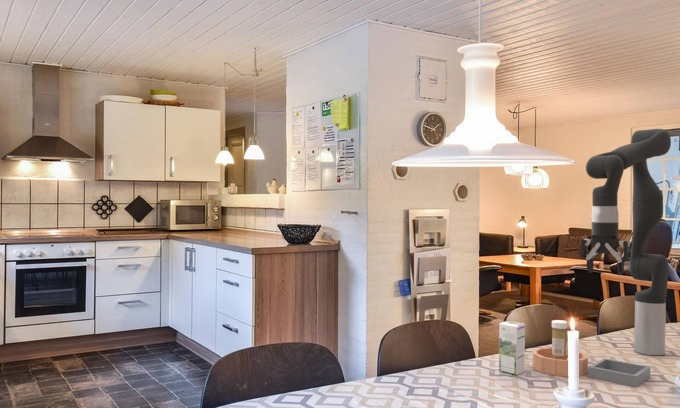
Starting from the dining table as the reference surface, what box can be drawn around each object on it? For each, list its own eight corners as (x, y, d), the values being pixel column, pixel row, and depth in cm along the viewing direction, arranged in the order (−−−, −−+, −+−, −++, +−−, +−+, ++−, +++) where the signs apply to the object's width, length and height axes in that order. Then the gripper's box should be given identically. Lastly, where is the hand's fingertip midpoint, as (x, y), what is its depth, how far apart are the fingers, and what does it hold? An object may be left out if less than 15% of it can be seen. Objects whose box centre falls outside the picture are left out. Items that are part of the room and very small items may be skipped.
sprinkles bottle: (571, 365, 178) (570, 321, 178) (561, 368, 175) (561, 323, 175) (558, 362, 182) (558, 318, 182) (548, 364, 179) (548, 320, 179)
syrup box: (525, 371, 175) (525, 322, 175) (516, 375, 171) (516, 325, 171) (507, 367, 179) (508, 320, 179) (498, 371, 175) (498, 322, 175)
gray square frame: (604, 368, 180) (604, 358, 180) (650, 377, 171) (650, 366, 171) (588, 377, 170) (588, 366, 170) (636, 387, 162) (636, 376, 162)
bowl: (545, 359, 190) (545, 345, 190) (594, 368, 179) (594, 353, 179) (523, 368, 178) (524, 353, 178) (575, 379, 168) (575, 363, 168)
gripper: (633, 220, 179) (633, 274, 179) (586, 219, 188) (586, 270, 189) (625, 222, 173) (625, 277, 174) (576, 220, 183) (576, 272, 183)
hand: (605, 273), depth 181 cm, fingers open, 8 cm apart
